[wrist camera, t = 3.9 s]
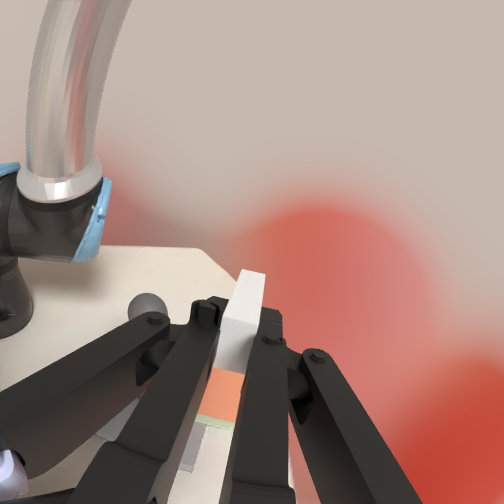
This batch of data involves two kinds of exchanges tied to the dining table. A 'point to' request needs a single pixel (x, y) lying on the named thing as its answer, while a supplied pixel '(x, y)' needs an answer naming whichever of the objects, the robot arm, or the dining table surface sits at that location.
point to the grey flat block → (193, 443)
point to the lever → (221, 381)
